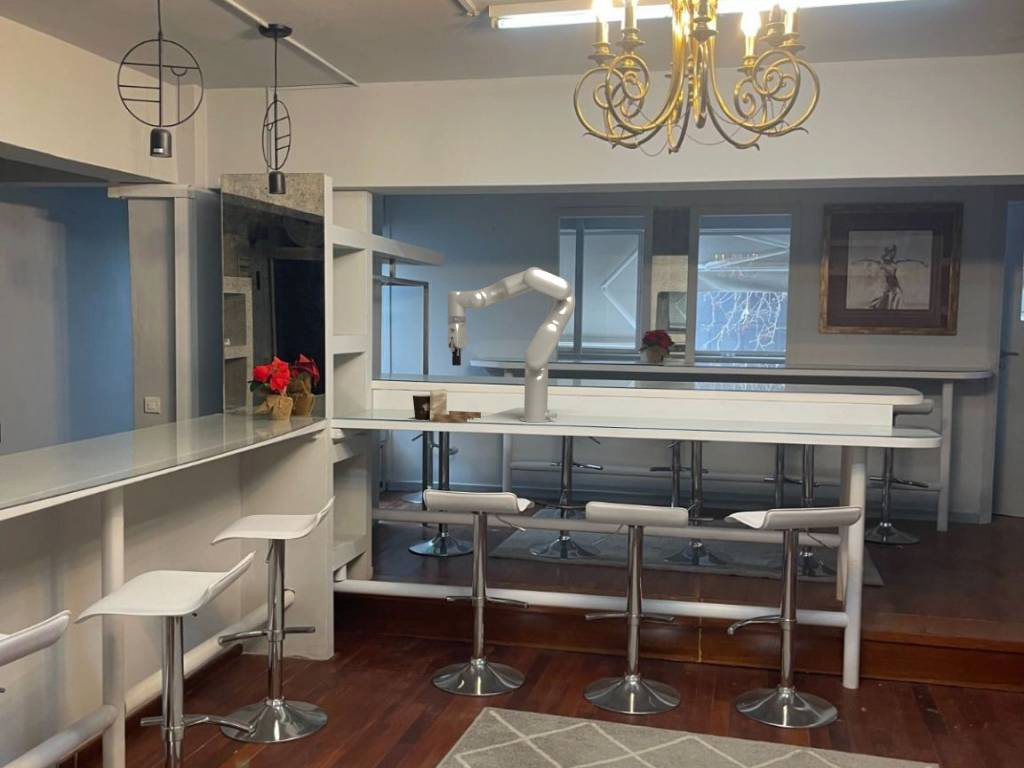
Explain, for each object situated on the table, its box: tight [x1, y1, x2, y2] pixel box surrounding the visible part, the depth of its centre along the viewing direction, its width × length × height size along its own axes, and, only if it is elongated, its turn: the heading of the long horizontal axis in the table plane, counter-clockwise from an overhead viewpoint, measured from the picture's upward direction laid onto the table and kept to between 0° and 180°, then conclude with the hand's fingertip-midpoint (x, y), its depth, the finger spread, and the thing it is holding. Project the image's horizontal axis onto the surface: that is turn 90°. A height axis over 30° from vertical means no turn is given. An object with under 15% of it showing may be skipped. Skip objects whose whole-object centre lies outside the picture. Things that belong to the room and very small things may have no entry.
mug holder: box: [433, 410, 482, 424], centre depth 397 cm, size 14×17×3 cm
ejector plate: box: [429, 388, 448, 421], centre depth 399 cm, size 2×14×12 cm, turn 161°
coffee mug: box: [412, 394, 430, 421], centre depth 399 cm, size 12×9×10 cm
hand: (456, 365), depth 396 cm, fingers closed
